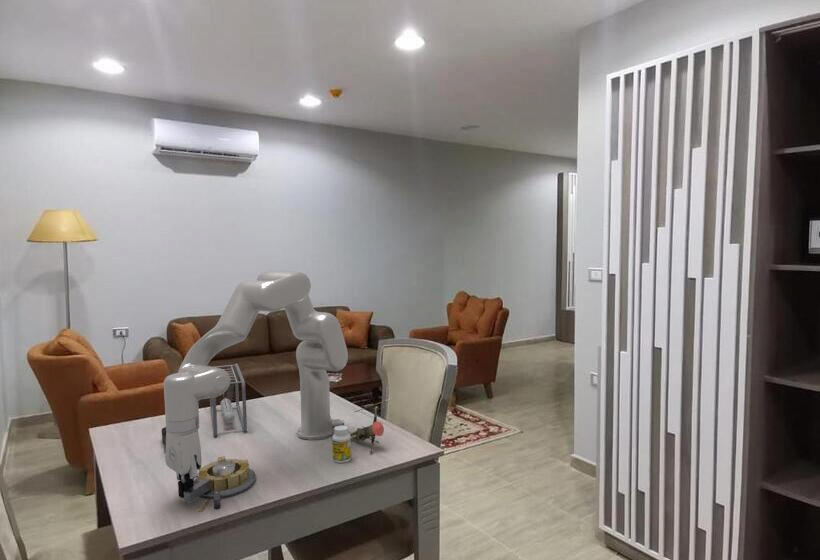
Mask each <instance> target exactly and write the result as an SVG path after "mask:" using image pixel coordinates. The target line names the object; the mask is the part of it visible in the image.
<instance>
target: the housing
mask: <svg viewBox="0 0 820 560" xmlns="http://www.w3.org/2000/svg"><path fill="white" fill-rule="evenodd" d="M228 471H230V474H233V473H235V463H234V462H231V461H224V462H220V463H217V464H215V465H214V466H213V476H216V477H218V476H222V473H223V472H228ZM256 481H257V474H256V471H254V469H251V468H249V478H248V479H247V481H246V482H244V483H243V484H241V485H239V486H237V487H234V488H231V489H227V490H216V491H214V490H213V491H211V490H208V491H207V492H205V493H204V494H202V495H201V496H199V497H198V498H201V499H206V502H204V503H203V505H202V506H201V507H200V508H199V509H198V510H197V513H199V512H200V513H201V512H203V510H205V509H206V507H207V506H208V505H209V504H210V503H211V502H212V500H213V509H214V510H220V509H221V508H222V501H221V500H222V499H225V498H226V499H227V498H231V497H235V496H237V495H240V494H243V493H245V492H246V491H248V490H250V489H251V488H252V487H253V486H255V484H256ZM197 483H199V481H198V477H196V478H194V485H195V484H197Z"/></svg>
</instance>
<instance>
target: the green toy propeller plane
mask: <svg viewBox="0 0 820 560" xmlns="http://www.w3.org/2000/svg"><path fill="white" fill-rule="evenodd" d="M390 400H392V398H391V397H390V398H387V399H385V400H383V401H381V402H378V403H375V404H371V405H369V406H366V407H364V408H361V409H358V410H355V411H354V413H356V412H360V411H362V410H365V409H368V408H370V407H373V406H375V407H374V415H373V421H372V424H370V425H368V426H363V427H361V428H359V427H358V428H357V429H356V431H354V432H352V433H351V432H350V431H348V433H349V434H350V436H351V441H354V440H355V441H357V442H359V441H362V442H365V441H366V440H367V439H368V440H371V441H370V449H369V455H370V454H372V455H373V448H374V443H379V441H377V440H375V439H376V436H377V437H381V436H382V435H384V432H385V429H384V428H385V427H384V425H383V423H382V422H381V421H378V419H377V418H378V416H377V415H378V414H377V413H378V406H377V405H378V404H382V403H384V402H387V401H390ZM352 436H353V437H352Z"/></svg>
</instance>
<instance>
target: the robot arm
mask: <svg viewBox="0 0 820 560" xmlns="http://www.w3.org/2000/svg"><path fill="white" fill-rule="evenodd" d="M311 284H312V283H311V281H310V278H309V276H308V275H307V274H306V273H304V272H303V271H302V272H301V271H295V270H292V271H289V270H287V271H286V270H272V269H271V270H265V271H263V272H260V274H258V276H257V279H256V280H254V279H249V280H244V281H241V282H240V283H239V284H237V286H236V287H235V288H234V289H235V290H234V291H233V292H232V295H231V297H230V299H229V300H228V302H227V305H226V306H225V308H224V310H223V311H222V314H221V316H220V318H219V320H218V321H217V323H216V325H215V326H214V327H213V328H212V329H210V330H209V331H207V332H206V333H205V334H204V335H203V336H201V338H199V339H198V340H197V341H196V342H195V343H194V344H193V345H192V346H191V347H190V348H189V349H188V352H186V355H185V357H184V358H183V361H182V362H181V364H180V366H179V369H178V371H177V373H171V374H170V375H167V376H166V377H165V378H164V380H163V397H164V414H165V415H164V416H165V427H166V450H165V464H166V466H167V467H168V468H169V469H171V470H172V471H174V472H175V474H176V479H177V488H178V490H177V491H178V497H179V498H181V499H184V491H186V490H188V489H189V488H191V487H192V486H194V480H195V479H196V478H197V477H198V473H199V472H198V471H199V469H200V468H202V449H201V441H200V435H199V429H200V411H199V410H200V409H199V401H201V400H206V399H207V400H208V399H210V398H213V397H216V398H217V397H219V396H221V395H222V396H223V394H224V393H227V391H228V390H229V388H228V387H229V386H231V384H230V379H231V377H230V374H229V372H227V371H226V369H225V370H223V369H222V368H221V367H217V368H216V366H211V365H209V363H210V361H211V360H212V359H213V358H214V357H215V356H216V355H217V354H218V353H220V352H221V351H223V350H225V349H226V348H229V347H232V346H234V345H236V344H239V343H241V342H244V341H245V340H246V339H247V337H248V336H249V333H250V331H251V329H252V327H253V324H254V323H255V321H256V318H258V317H257V316H258V315H259V312H269V313H271V312H277V311H280V310H284V311H285V314H286V318H287V319H288V322H289V323H288V324H289V326H290V329H291V331H292V334H293V335H294V337H295V338H296V339H298V340H300V341H301V342H300V343H299V344H298V346H297V347H296V350H295V358H296V364H297V367H298V374H299V385H300V388H299V389H300V390H299V391H300V396H299V397H300V420H301V422H300V423H301V424H300V425H301V426H300V427H299V428H297V430H296V436H297V437H298V438H300V439H304V440H310V441H312V440H314V441H315V440H322V439H327V438H329V437H331V436H333V435H334V434H335V433H334V428H335V427H336V426H342V425H343V426H345V420H341V419H340V418H334V419H333V418H332V416H331V402H330V401H331V399H330V379H329V375H328V372H339V371H342V370H343V369H344V368H345V367H346V365H347V363H348V359H349V356H348V354H349V352H348V348H347V344H346V341H345V336H344V334H343V331H342V327H341V324H340V321H339V320H338V318H337V317H336V316H335V315H334V314H332V313H329V312H323V311H317V310H316V309H315V308H314V305H313V303H312V301H311V298H310V296H309V293H310V291H311V286H312V285H311ZM210 366H211V367H210Z"/></svg>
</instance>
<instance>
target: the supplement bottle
mask: <svg viewBox="0 0 820 560" xmlns="http://www.w3.org/2000/svg"><path fill="white" fill-rule="evenodd" d="M348 432H349V427H348V426H347V425H344V426H343V425H342V426H336V427H335V428H334V434H333V435H332V438H331V439H332V441H331V443H332V446H331V447H332V459H333V461H334V462H335V463H338V464H339V463H340V464H343V463H348V462H349V461H350V460H351V459H352V440H351V438H352V436H350V434H349V433H350V432H349V433H348Z"/></svg>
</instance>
